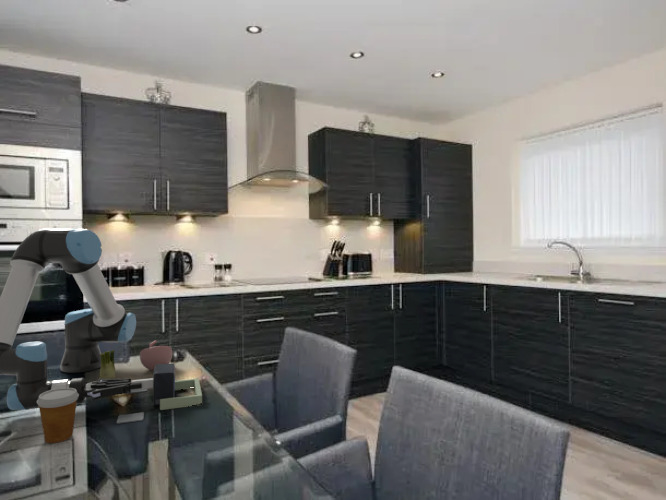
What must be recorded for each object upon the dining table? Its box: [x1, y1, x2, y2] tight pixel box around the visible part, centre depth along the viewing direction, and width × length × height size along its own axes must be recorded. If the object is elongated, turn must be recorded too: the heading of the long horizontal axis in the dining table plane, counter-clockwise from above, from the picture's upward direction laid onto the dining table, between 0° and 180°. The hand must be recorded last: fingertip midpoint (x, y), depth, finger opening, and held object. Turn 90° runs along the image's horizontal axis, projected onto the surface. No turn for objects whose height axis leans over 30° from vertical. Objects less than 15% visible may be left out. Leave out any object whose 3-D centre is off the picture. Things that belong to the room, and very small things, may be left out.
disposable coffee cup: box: [37, 388, 79, 444], centre depth 117 cm, size 10×10×12 cm
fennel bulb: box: [99, 350, 116, 379], centre depth 158 cm, size 6×5×12 cm
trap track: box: [116, 378, 203, 425], centre depth 144 cm, size 30×24×3 cm
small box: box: [152, 363, 176, 406], centre depth 144 cm, size 11×6×10 cm, turn 18°
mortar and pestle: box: [139, 340, 173, 371], centre depth 175 cm, size 12×12×12 cm
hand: (153, 382), depth 143 cm, fingers closed
